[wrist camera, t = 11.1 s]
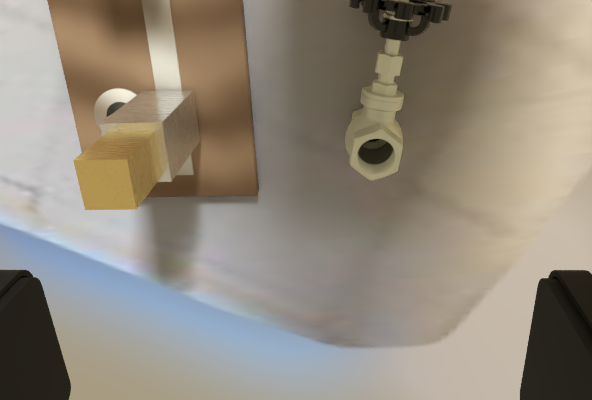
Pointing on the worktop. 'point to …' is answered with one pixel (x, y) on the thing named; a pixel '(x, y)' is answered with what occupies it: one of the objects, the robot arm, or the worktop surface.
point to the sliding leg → (138, 149)
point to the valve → (386, 85)
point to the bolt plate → (165, 78)
